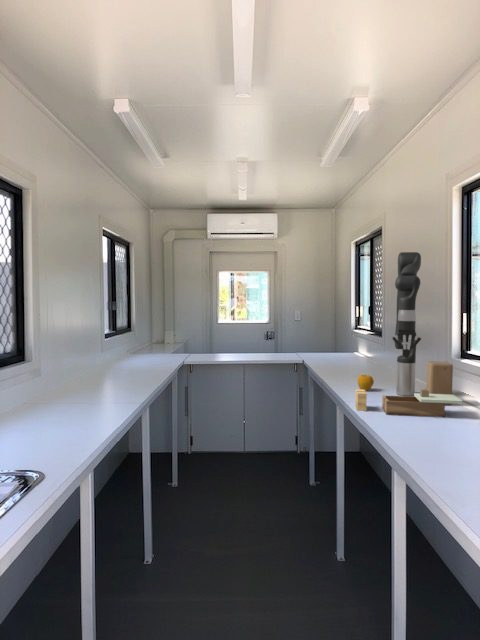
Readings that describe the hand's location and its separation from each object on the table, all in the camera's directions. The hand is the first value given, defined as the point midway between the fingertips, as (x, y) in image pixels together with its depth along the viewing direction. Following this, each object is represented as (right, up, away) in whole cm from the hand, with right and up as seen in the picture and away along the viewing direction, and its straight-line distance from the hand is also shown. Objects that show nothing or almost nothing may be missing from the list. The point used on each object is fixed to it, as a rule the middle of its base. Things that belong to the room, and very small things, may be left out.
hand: (405, 357), depth 205 cm
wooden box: (+1, -24, -4) cm, 25 cm away
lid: (+12, -18, -6) cm, 23 cm away
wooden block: (+22, -24, +15) cm, 35 cm away
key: (-20, -24, +3) cm, 31 cm away
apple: (-6, -22, +44) cm, 50 cm away
